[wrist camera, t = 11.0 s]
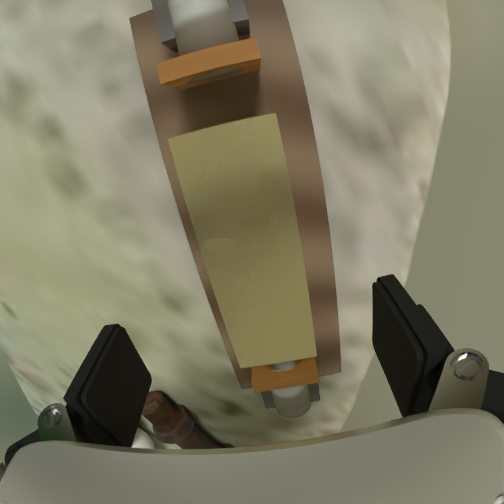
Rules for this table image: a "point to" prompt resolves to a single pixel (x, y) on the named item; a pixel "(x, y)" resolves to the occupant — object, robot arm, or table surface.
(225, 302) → the tan rectangular block
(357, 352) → the table surface
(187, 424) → the bolt
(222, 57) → the shaft base
